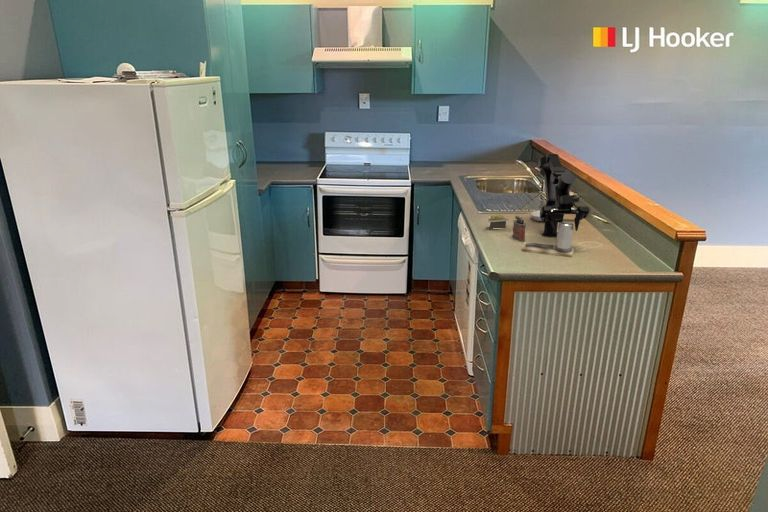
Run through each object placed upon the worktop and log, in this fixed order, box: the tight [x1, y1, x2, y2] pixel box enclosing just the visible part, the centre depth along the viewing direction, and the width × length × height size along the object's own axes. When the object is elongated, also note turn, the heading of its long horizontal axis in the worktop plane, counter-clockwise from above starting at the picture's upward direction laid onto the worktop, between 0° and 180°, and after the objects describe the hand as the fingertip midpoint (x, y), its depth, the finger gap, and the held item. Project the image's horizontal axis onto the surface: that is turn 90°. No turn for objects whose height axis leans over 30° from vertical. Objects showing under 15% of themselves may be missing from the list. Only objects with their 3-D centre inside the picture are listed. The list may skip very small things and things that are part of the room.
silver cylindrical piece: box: [555, 221, 574, 249], centre depth 222 cm, size 6×6×10 cm
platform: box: [487, 214, 510, 230], centre depth 256 cm, size 12×18×7 cm, turn 104°
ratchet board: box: [520, 241, 575, 258], centre depth 226 cm, size 20×10×5 cm, turn 67°
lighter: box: [511, 215, 527, 243], centre depth 240 cm, size 8×3×10 cm, turn 17°
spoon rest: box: [530, 207, 582, 222], centre depth 268 cm, size 24×12×7 cm, turn 84°
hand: (566, 230), depth 220 cm, fingers open, 8 cm apart
